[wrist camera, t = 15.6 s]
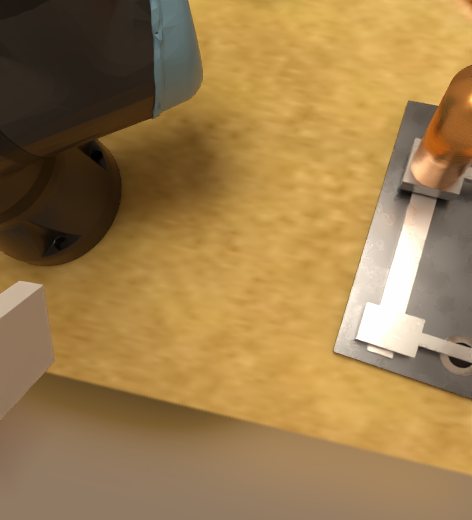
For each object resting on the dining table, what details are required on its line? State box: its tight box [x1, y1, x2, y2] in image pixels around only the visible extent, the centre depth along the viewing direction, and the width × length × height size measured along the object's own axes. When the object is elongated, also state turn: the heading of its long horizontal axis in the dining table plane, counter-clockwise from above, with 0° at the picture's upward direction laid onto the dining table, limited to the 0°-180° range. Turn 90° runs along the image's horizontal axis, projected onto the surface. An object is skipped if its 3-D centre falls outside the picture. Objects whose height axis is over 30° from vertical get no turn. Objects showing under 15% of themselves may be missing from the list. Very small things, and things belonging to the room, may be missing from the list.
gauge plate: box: [333, 101, 472, 399], centre depth 34 cm, size 12×24×4 cm, turn 161°
